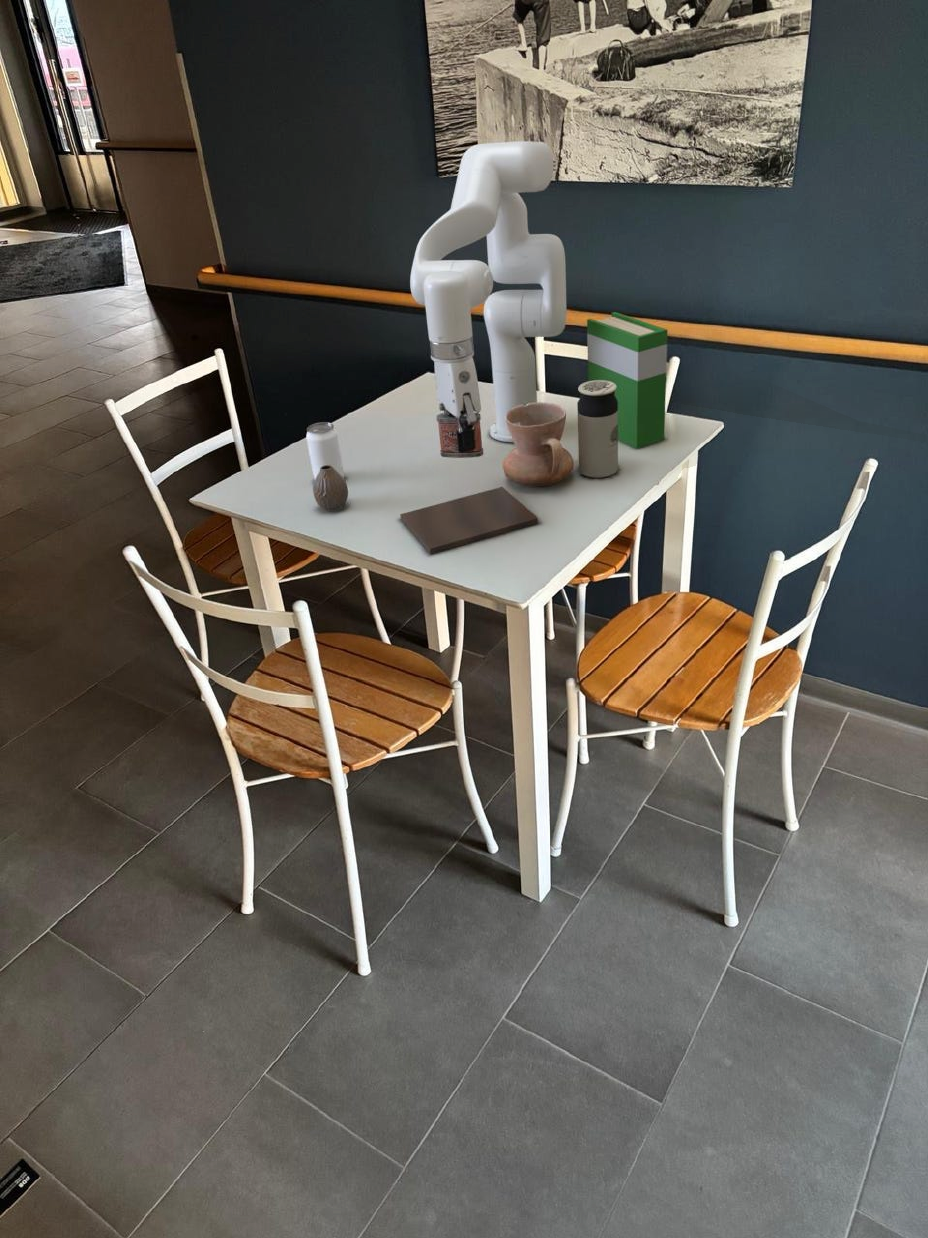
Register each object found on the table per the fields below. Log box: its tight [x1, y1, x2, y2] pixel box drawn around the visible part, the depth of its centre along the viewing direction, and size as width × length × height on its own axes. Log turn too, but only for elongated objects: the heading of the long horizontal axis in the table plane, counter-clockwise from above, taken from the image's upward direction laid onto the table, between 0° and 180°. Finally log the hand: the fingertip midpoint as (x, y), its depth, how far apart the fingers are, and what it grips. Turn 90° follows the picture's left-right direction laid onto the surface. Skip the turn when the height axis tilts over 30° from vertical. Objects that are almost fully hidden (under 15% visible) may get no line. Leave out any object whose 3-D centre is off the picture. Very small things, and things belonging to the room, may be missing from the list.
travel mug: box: [576, 380, 619, 479], centre depth 190 cm, size 8×8×18 cm
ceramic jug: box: [502, 401, 575, 487], centre depth 190 cm, size 18×14×14 cm
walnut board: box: [399, 486, 539, 555], centre depth 181 cm, size 22×16×1 cm
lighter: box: [436, 402, 484, 459], centre depth 171 cm, size 8×3×10 cm, turn 79°
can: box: [305, 421, 345, 481], centre depth 199 cm, size 6×6×12 cm
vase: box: [312, 465, 349, 512], centre depth 189 cm, size 7×7×9 cm
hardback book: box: [586, 311, 668, 449], centre depth 203 cm, size 18×7×24 cm, turn 29°
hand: (461, 444), depth 172 cm, fingers closed on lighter, 4 cm apart
